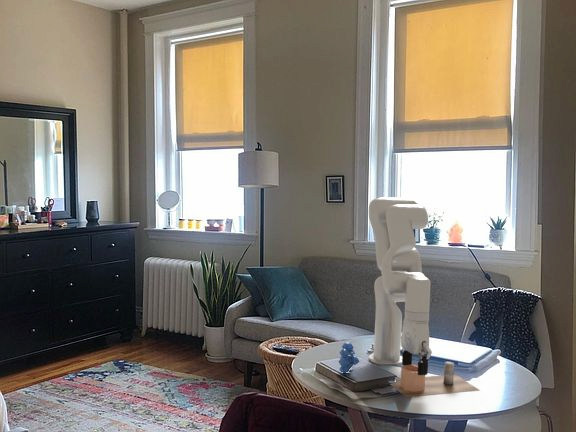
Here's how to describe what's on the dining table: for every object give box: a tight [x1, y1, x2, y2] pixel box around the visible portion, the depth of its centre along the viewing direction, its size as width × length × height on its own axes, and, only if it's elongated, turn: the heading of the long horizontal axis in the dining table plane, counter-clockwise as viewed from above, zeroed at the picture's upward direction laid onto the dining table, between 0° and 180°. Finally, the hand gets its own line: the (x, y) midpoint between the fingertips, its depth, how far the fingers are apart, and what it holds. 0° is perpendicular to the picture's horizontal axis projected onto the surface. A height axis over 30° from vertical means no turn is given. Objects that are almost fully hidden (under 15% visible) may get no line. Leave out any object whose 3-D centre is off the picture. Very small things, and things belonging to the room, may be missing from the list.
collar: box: [400, 364, 426, 392], centre depth 185 cm, size 7×7×6 cm
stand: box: [389, 361, 480, 398], centre depth 187 cm, size 14×26×8 cm, turn 107°
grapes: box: [338, 342, 360, 373], centre depth 196 cm, size 12×7×12 cm, turn 159°
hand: (414, 369), depth 184 cm, fingers open, 9 cm apart
